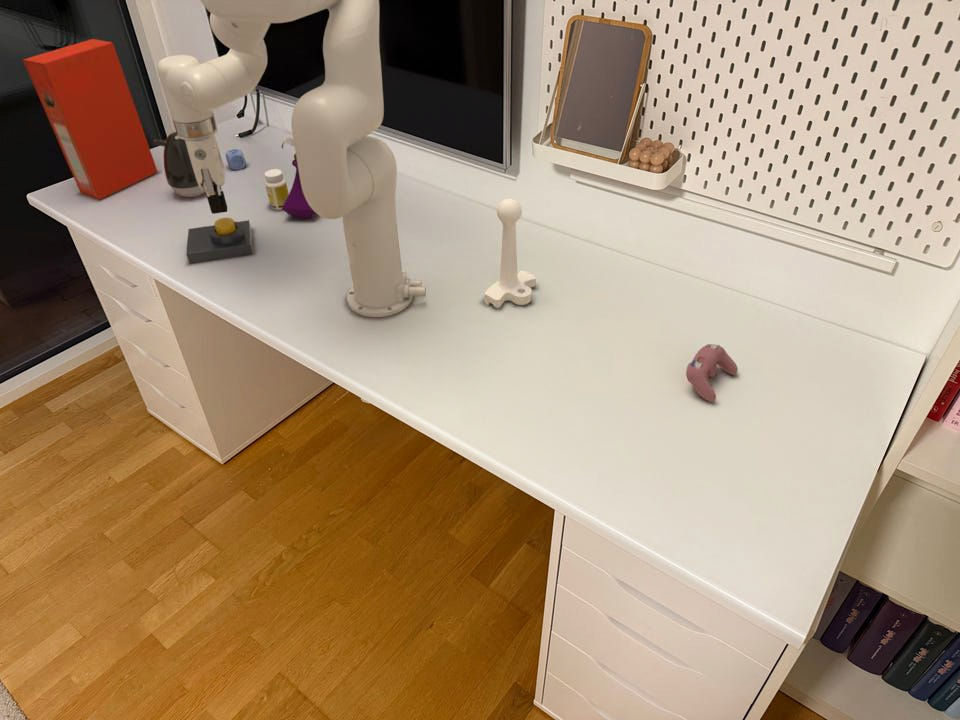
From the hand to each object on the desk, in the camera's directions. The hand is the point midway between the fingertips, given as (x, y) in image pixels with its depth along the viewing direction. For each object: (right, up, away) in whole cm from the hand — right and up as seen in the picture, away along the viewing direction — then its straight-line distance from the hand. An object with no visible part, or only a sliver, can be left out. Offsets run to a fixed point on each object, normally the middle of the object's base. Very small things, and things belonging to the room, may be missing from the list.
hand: (219, 210), depth 145 cm
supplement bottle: (+7, +5, +20) cm, 22 cm away
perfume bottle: (+14, +3, +16) cm, 22 cm away
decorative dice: (-9, +20, +37) cm, 43 cm away
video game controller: (+92, -35, -30) cm, 103 cm away
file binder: (-37, +14, +31) cm, 50 cm away
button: (0, -4, +3) cm, 5 cm away
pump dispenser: (-16, +10, +26) cm, 33 cm away
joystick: (+61, -19, -11) cm, 65 cm away
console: (-2, -6, +6) cm, 9 cm away
